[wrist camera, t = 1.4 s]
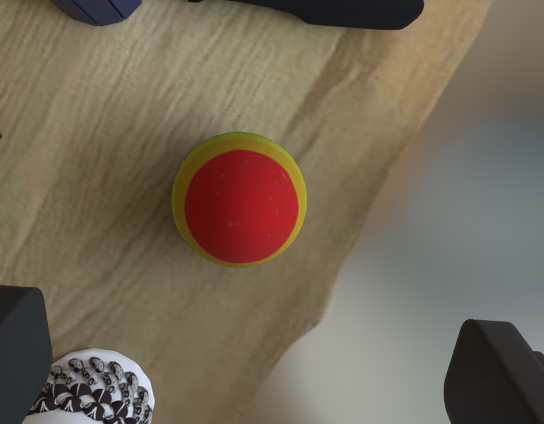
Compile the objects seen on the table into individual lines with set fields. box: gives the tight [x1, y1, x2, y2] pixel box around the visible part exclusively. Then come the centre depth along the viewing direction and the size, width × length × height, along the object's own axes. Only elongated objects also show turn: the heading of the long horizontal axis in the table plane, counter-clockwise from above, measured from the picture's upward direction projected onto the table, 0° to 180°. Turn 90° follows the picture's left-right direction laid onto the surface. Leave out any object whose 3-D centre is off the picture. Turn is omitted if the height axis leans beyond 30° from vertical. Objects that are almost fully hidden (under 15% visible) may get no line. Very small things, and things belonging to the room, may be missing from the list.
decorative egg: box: [171, 132, 307, 268], centre depth 27 cm, size 8×8×10 cm
